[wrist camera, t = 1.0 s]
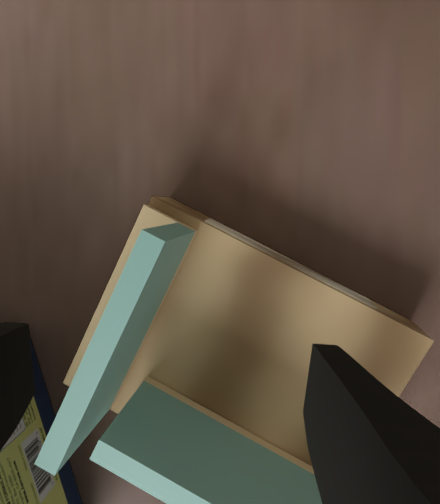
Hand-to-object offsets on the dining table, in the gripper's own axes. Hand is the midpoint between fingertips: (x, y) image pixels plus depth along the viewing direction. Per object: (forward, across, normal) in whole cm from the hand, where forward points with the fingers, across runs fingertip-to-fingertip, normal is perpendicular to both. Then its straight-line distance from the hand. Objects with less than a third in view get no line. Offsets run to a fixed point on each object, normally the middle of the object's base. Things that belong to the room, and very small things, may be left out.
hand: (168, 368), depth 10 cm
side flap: (+9, -2, +11) cm, 14 cm away
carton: (+13, -2, +7) cm, 15 cm away
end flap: (+11, +4, +4) cm, 12 cm away
